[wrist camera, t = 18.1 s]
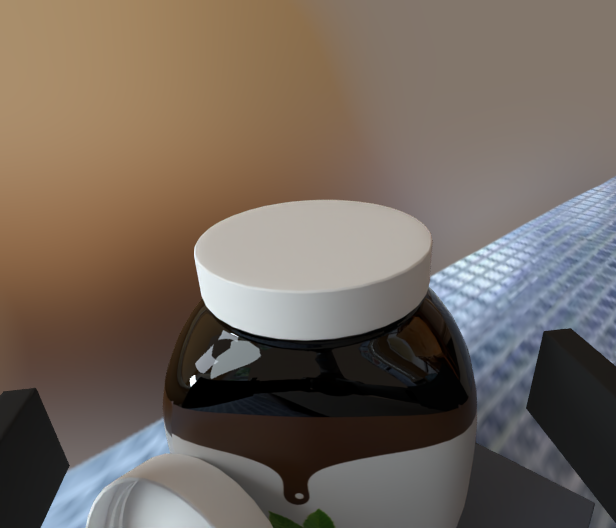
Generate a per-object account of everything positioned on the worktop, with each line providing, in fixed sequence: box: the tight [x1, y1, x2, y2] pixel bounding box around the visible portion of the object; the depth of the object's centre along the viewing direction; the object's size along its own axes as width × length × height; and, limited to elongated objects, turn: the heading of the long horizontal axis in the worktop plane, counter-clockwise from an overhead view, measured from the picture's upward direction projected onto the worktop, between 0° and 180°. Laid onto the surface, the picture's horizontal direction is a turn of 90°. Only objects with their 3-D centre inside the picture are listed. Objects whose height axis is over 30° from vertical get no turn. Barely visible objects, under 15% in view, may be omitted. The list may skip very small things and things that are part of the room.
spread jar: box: [86, 200, 477, 528], centre depth 13 cm, size 12×11×12 cm
